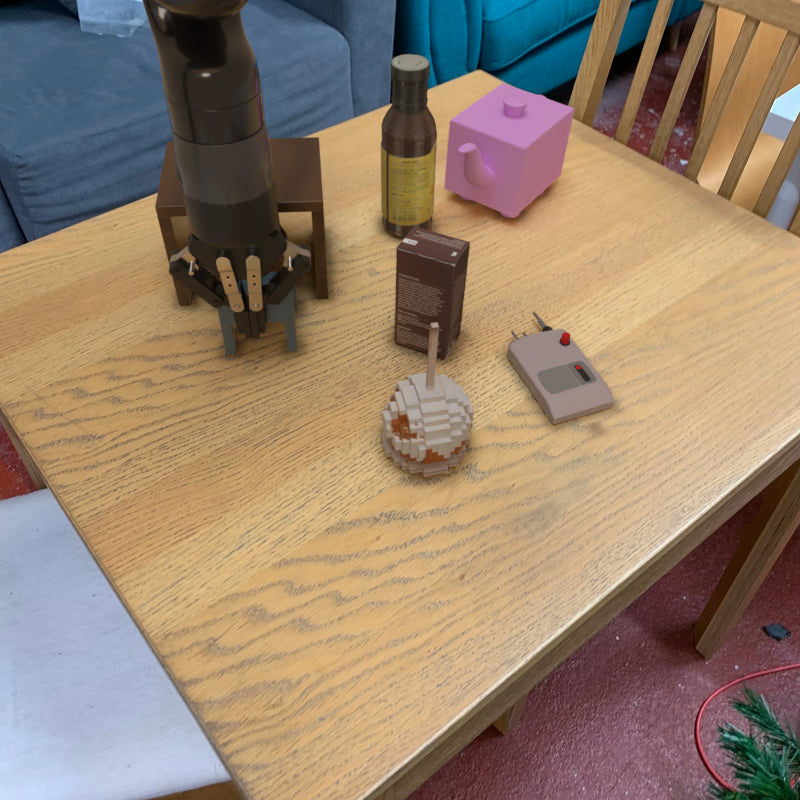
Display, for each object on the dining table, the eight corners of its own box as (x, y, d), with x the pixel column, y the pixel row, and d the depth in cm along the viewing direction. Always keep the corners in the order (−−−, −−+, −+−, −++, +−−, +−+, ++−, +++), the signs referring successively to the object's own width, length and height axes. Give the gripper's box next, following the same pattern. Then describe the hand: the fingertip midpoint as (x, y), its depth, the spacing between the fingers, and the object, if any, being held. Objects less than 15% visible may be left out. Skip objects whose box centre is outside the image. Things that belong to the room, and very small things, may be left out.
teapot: (501, 152, 105) (514, 61, 95) (567, 177, 101) (587, 85, 92) (417, 219, 94) (423, 123, 84) (487, 251, 90) (501, 154, 81)
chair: (226, 354, 77) (214, 297, 72) (229, 307, 82) (219, 249, 77) (297, 351, 78) (291, 294, 72) (297, 304, 83) (291, 247, 77)
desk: (179, 305, 82) (154, 206, 73) (188, 238, 90) (167, 140, 81) (328, 298, 84) (323, 200, 74) (324, 232, 91) (318, 136, 82)
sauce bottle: (442, 228, 93) (456, 66, 78) (402, 247, 90) (408, 82, 75) (409, 203, 96) (416, 43, 81) (369, 221, 93) (369, 58, 78)
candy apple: (374, 419, 72) (375, 299, 61) (453, 407, 74) (468, 286, 62) (392, 485, 67) (397, 367, 56) (477, 471, 69) (497, 352, 57)
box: (461, 333, 80) (472, 240, 71) (444, 361, 78) (454, 267, 69) (409, 316, 82) (413, 223, 73) (391, 342, 79) (393, 249, 70)
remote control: (562, 439, 71) (568, 418, 69) (488, 331, 81) (492, 309, 79) (622, 420, 73) (630, 399, 71) (543, 316, 83) (548, 295, 80)
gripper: (309, 147, 64) (320, 304, 77) (148, 152, 63) (187, 310, 76) (310, 198, 59) (322, 356, 72) (136, 204, 58) (180, 364, 71)
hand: (252, 332), depth 74 cm, fingers closed
